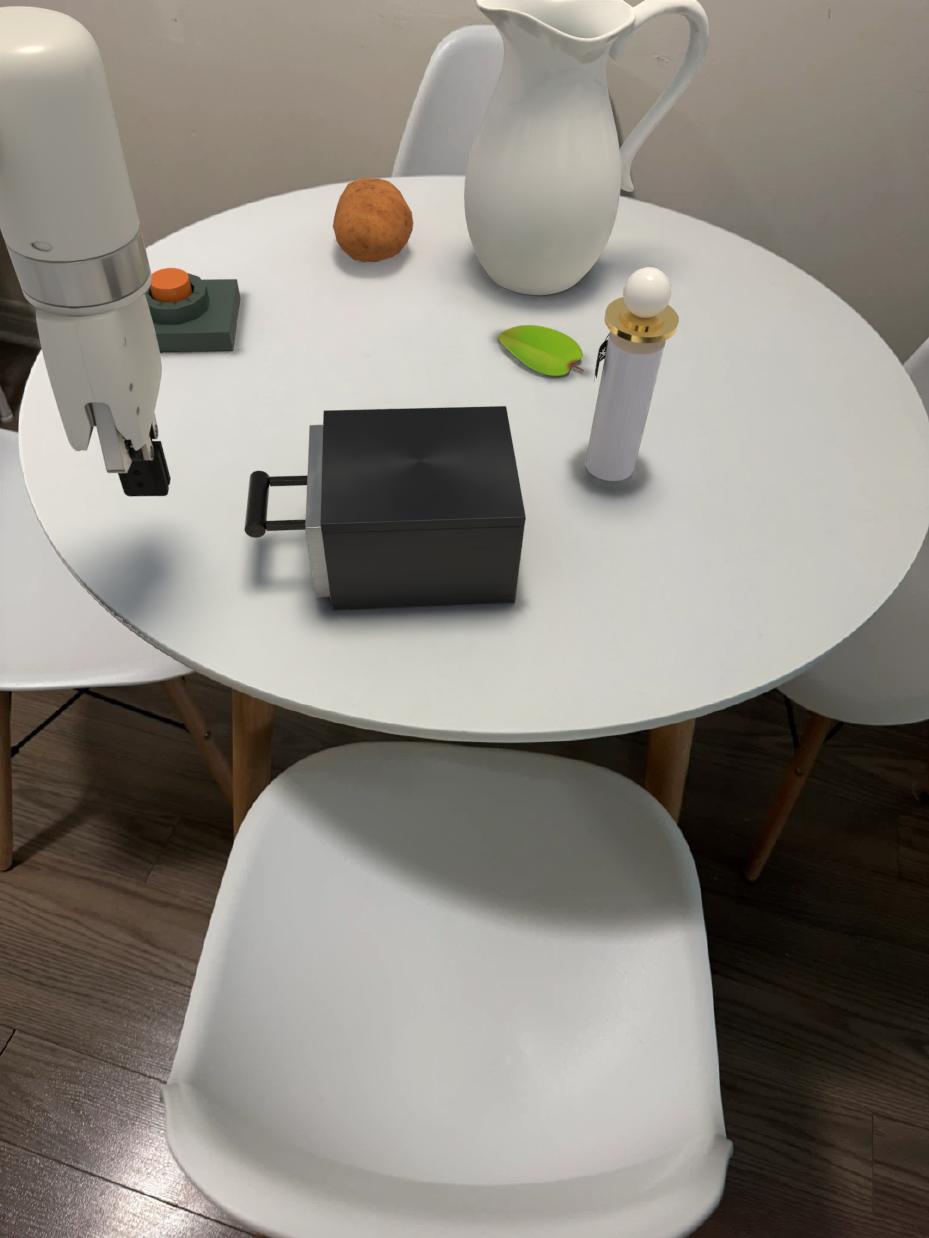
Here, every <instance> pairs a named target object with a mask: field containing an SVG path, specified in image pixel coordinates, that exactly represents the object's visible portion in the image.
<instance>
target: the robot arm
mask: <svg viewBox="0 0 929 1238" xmlns="http://www.w3.org/2000/svg"><path fill="white" fill-rule="evenodd" d="M140 223H141V222H140V219H139V214H138V209H137V206H136V200H135V197H134V193H133V188H132V184H131V180H130V176H129V172H128V167H127V163H126V159H125V155H124V150H123V146H122V141H121V137H120V132H119V128H118V124H117V120H116V114H115V111H114V107H113V101H112V98H111V93H110V88H109V83H108V80H107V75H106V70H105V66H104V64H103V60H102V57H101V52H100V49H99V47H98V44H97V43H96V41H95V39H94V37H93V35H92V34H91V33H90V31H89V30H88V29H87V28H86V27H85V26H84V25H83V23H81V22H80V21H78V20H77V19H75V18H73V17H72V16H71V15H69V14H66V13H64V12H60V11H56V10H52V9H49V8H42V7H38V6H28V5H27V6H26V5H25V6H24V5H23V6H22V5H12V6H11V5H10V6H9V5H8V6H0V233H1V235H2V238H3V240H4V244H5V247H6V250H7V251H8V254H9V257H10V260H11V263H12V265H13V269H14V270H15V275H16V277H17V280H18V283H19V286H20V289H21V291H22V294H23V297H24V298H25V299H26V300H27V302H28V303H29V304H31V305H32V306H33V307H35V319H36V320H35V321H36V326H37V332H38V337H39V342H40V348H41V352H42V356H43V360H44V364H45V365H44V366H45V368H46V372H47V376H48V379H49V383H50V387H51V390H52V393H53V396H54V400H55V404H56V406H57V410H58V413H59V417H60V420H61V423H62V427H63V429H64V432H65V435H66V438H67V441H68V443H69V445H70V447H71V448H72V449H73V450H74V451H76V452H81V451H83V452H84V451H85V452H86V451H88V449H89V446H90V442H91V438H92V435H93V431H94V428H95V427H96V432H97V436H98V440H99V445H100V450H101V454H102V458H103V462H104V466H105V470H106V473H107V474H117V475H118V479H119V481H120V484H121V487H122V491H123V494H124V495H125V496H127V497H131V498H132V497H166V496H168V495H169V492H170V491H169V490H170V487H169V486H170V484H171V479H172V478H171V474H170V471H169V466H168V462H167V459H166V455H165V452H164V447H163V444H162V441H161V440H158V439H159V425H158V421H157V417H156V412H155V411H156V406H157V402H158V397H159V393H160V388H161V381H162V373H163V365H162V357H161V352H160V351H159V346H158V341H157V337H156V332H155V328H154V325H153V321H152V317H151V313H150V310H149V306H148V303H147V299H146V296H145V293H146V291H147V290H148V289H149V287H150V285H151V281H152V275H151V274H152V271H151V266H150V261H149V258H148V253H147V249H146V248H147V247H146V244H145V240H144V236H143V232H142V231H143V230H142V227H141V224H140Z"/></svg>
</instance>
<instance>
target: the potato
mask: <svg viewBox="0 0 929 1238" xmlns="http://www.w3.org/2000/svg"><path fill="white" fill-rule="evenodd" d="M332 229H333V232H334V236H335V240H336V243H337V245H338V246H339V248H340V250H341V251H342V252H344V254H346V255H347V256H348V257H349V258H351V259H352V260H354V261H357V262H358V261H359V262H361V263H378V262H381V261H384V260H385V261H386V260H389V259H391V258H394V257H395V256H396V255H399V254H400V253H401V252H402V250H403V249H404V248H405V247H406V246H407V244H408V242H409V240H410V237H411V235H412V233H413V229H414V218H413V212H412V210H411V208H410V206H409V204H408V203H407V201H406V199H405V197H404V196H403V194H402V192H401V190H400V189H398V188H397V187H396V186H395V184H393V183H392V182H390V181H389V180H386V179H383V178H376V177H375V178H373V177H371V178H370V177H362V178H359V179H356V180H353V181H351V182H349V183H347V185H346V186H345V188H344V189H343V191H342V192H341V194H340V195H339V198H338V202H337V204H336V209H335V212H334V216H333V222H332Z"/></svg>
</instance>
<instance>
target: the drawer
mask: <svg viewBox="0 0 929 1238" xmlns="http://www.w3.org/2000/svg"><path fill="white" fill-rule="evenodd" d="M322 450H323V424H310V425H309V429H308V451H307V474H306V475H278V476H277V475H276V476H275V475H274V476H270V475H269V474H268V472H266V471H264V470H254V471H252V472H251V473H250V475H249V481H248V491H247V500H246V501H247V502H246V509H245V520H244V528H243V529H244V533H245V534H246V535H247V536H248V537H250V538H254V539H260V538H262V537H264V536H265V534H266V533H267V532H283V531H285V532H286V531H305V535H306V543H307V548H308V556H309V563H310V569H311V573H312V575H311V576H312V580H313V587H314V594H315V598H330V591H329V584H328V576H327V569H326V561H325V554H324V546H323V539H322V532H321V487H322ZM298 486H299V487H302V486H303V487H304V486H306V499H305V519H281V520H280V519H279V520H278V519H277V520H268V510H269V499H270V498H269V497H270V487H298Z"/></svg>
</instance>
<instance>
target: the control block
mask: <svg viewBox="0 0 929 1238" xmlns="http://www.w3.org/2000/svg"><path fill="white" fill-rule="evenodd" d="M186 273H187V274H188V276H189V280H190V284H191V289H192V294H191V295H190V296H189V297H187V298H186V299H183V300H180V301H177V302H160V301H157V300H155V299H154V298H153V296H152V292H151V289H150V287H149V289H148V290H147V291H146V293H145V296H146V299H147V303H148V306H149V310H150V313H151V317H152V321H153V325H154V328H155V332H156V337H157V341H158V346H159V351H160V353H166V352H167V353H168V352H169V353H171V352H173V353H174V352H217V351H218V352H221V351H224V352H225V351H234V346H235V338H236V332H237V324H238V317H239V309H240V303H241V292H240V288H239V282H238V279H237V278H223V279H221V278H217V279H211V278H209V279H208V278H207V279H202V278H201V277H200V276H198V275H196V274H192V273H189V272H186Z"/></svg>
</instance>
